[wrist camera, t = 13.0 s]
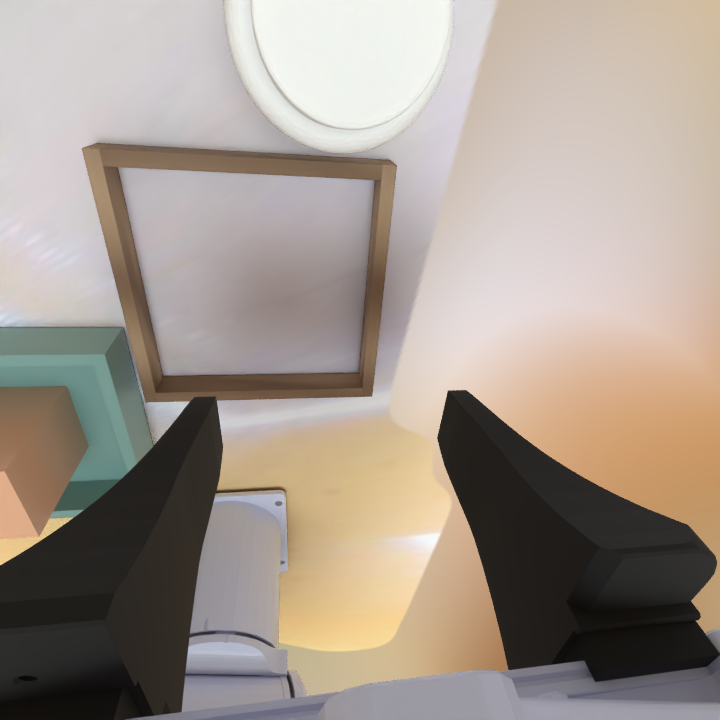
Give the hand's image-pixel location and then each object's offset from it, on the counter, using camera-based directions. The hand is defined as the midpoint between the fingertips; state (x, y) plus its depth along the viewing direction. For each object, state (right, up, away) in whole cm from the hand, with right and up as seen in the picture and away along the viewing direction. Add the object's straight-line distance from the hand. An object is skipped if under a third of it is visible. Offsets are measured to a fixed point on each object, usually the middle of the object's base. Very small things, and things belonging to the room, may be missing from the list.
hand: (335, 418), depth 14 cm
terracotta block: (-17, -1, +10) cm, 20 cm away
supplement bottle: (-1, +14, +3) cm, 15 cm away
